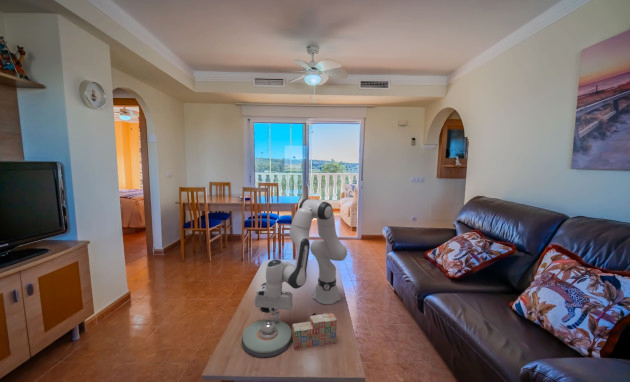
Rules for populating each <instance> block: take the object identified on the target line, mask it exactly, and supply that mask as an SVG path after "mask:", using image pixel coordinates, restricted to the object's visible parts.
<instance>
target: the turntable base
mask: <svg viewBox="0 0 630 382" xmlns="http://www.w3.org/2000/svg"><path fill="white" fill-rule="evenodd" d="M292 344H293V342H292V331H291V340H290V342H289V343H288V344H287V345H286V346H285V347H284V348H282V349H280V350H278V351H276V352H272V353H256V352H253V351H250V350H249V349H247V348H246V347H245V345H244V343H243V336H242V337H241V347H242V349H243V351H244V352H245V353H246V354H247V355H249V356H251V357H255V358H259V359H267V358H274V357H276V356H279V355H281V354H283V353H285V352H286V351H287V350H288V349H289V348H290V346H291V345H292Z"/></svg>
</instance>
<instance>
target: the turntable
mask: <svg viewBox="0 0 630 382" xmlns="http://www.w3.org/2000/svg"><path fill="white" fill-rule="evenodd" d="M266 320H272V321H274V322H275V327H276V328H277V335H276V337H274V338H272V339H268V340H266V339H262V338H261V337H260V336H259V331H260V329H261V328H262V323H263V322H264V321H266ZM291 332H292V328H291V327H290V326H289V325H288V323H286V322H285V321H283V320H280V311H276V312H275V316H274V318H269V319H267V318H266V319H261V320H260V319H259V320H258V321H255V322H253V323H251V324H250V325H248V326H247V327H246V328H245V330H244V332H243V334H242V337H243V343H244V345H245V347H246V348H247V349H249V350H250V351H253V352H256V353H272V352H276V351H278V350H280V349H282V348H284V347H285V346H286V345H287V344H288V343H289V342H290V340H291Z"/></svg>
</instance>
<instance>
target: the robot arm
mask: <svg viewBox="0 0 630 382" xmlns="http://www.w3.org/2000/svg"><path fill="white" fill-rule="evenodd" d="M314 219H316V220H317V221H316V224H317V234H318V237H319V238H320V239H314V240H313V241H312V242H311V243H310V237H309V236H310V231H311V226H312V221H313V220H314ZM336 230H337V229H336V222H335V214H334V211H333V207H332V204H331V203H330V202H327V201H323V200H320V199H314V198H312V199H311V198H303V199H302V200H301V201H300V203H299V206H298V209H297V210H296V212H295V213H294V216H293V219H292V221H291V224H290V229H289V234H288V235H289V237H290V240H291V242H292V243H293V244H294V246H295V248H296V250H297V255H296V261H295V265H294V264H293V263H291V262H283V261H282V260H280V259H272V260H270V261H269V262H268V263H267V265H266V269H265V279H266V280H265V281H266V282H265V283H266V285H264V286H261V285H260V286H259V288H257V290H256V295H255V297H254V306H255V308H256V307H257V308H261V307H265V308H269V311H270V312H269V313H270V316H274V317H275V312H278V310H287V311H289V310H291V309H292V308H293V298H294V295H293V293H292V292H291V291H283V283H286V284H288V285H289V286H290V287H291V288H293V289H295V290H297V289H299V288H301V287H303V286H304V285H305V284H306V281H307V276H308V275H307V267H308V260H309V255H310V253H311V255H313V256H314V258H315V260H316V261H317V262H316V263H317V265H318V278H317V284H316V285H315V292H314V294H313V295H312V297H311V298H312V299H313V300H315V301H316V302H318V303H320V304H323V305H333V304H335V303H337V302H339V301H341V300H342V299H341V296H340V293H339V287H338V286H337V278H336V276H337V268H336V265H335V264H334V263H333V262H332V261H335V262H342V261H344V260H345V259H346V258H347V256H348V250H347V247H346V246H345V245H344V244H343V243H342V242H341V241H340V239H339V237H338V235H337V231H336ZM272 308H274V311H273V310H272Z"/></svg>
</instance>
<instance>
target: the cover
mask: <svg viewBox="0 0 630 382" xmlns="http://www.w3.org/2000/svg"><path fill="white" fill-rule="evenodd" d="M276 335H277V328H276V327H275V322H274V321H272V320H266V321H264V322H263V323H262V328H261V329H260V331H259V336H260V337H261V338H262V339H266V340H268V339H272V338H274V337H276Z"/></svg>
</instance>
